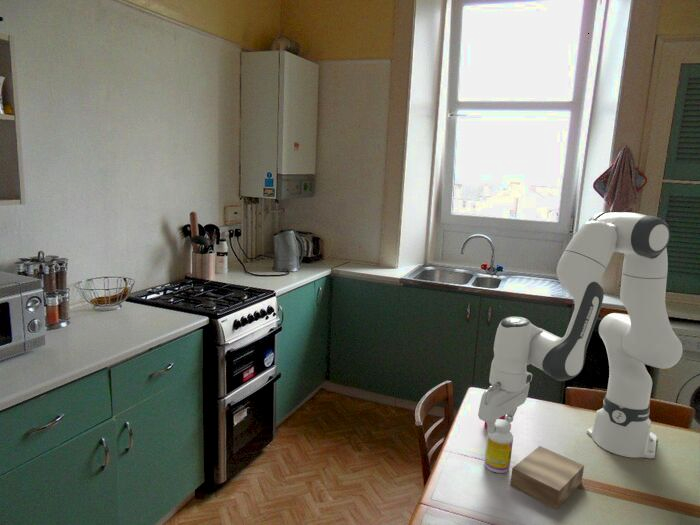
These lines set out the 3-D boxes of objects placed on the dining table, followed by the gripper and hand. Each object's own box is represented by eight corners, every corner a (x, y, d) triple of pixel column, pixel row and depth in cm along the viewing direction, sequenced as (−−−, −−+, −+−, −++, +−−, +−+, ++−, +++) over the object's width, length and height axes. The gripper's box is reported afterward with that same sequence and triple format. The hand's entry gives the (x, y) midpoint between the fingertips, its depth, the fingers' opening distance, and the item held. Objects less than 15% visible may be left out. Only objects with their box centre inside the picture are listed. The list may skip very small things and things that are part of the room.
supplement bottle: (510, 476, 133) (516, 431, 131) (484, 471, 134) (490, 427, 132) (507, 462, 139) (513, 419, 137) (483, 458, 141) (488, 415, 138)
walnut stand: (537, 462, 140) (539, 445, 139) (581, 482, 132) (584, 465, 131) (509, 485, 129) (512, 467, 128) (556, 509, 121) (559, 490, 120)
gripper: (498, 392, 122) (491, 445, 125) (535, 373, 137) (528, 420, 140) (475, 383, 127) (469, 434, 129) (513, 365, 141) (507, 411, 144)
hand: (500, 426), depth 135 cm, fingers open, 8 cm apart
